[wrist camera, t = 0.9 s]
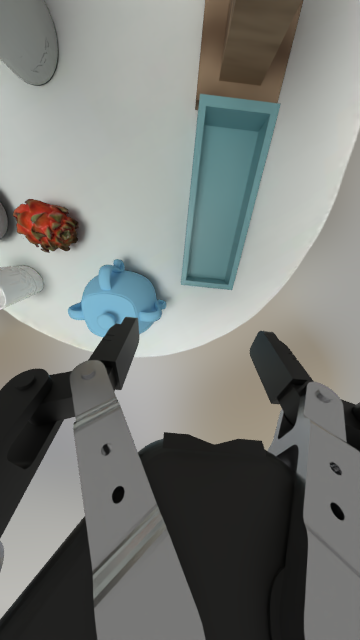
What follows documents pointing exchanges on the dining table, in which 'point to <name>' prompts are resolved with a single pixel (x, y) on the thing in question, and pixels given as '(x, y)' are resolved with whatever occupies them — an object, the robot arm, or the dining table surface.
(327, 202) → the dining table surface
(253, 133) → the tray
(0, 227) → the coffee pot
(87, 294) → the decorative pot
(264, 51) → the stand
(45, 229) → the dragon fruit
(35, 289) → the white cup
